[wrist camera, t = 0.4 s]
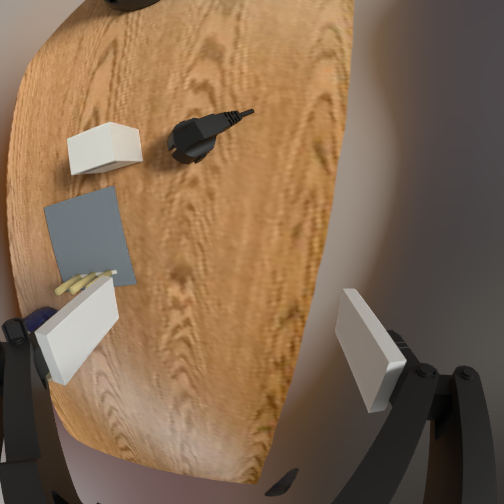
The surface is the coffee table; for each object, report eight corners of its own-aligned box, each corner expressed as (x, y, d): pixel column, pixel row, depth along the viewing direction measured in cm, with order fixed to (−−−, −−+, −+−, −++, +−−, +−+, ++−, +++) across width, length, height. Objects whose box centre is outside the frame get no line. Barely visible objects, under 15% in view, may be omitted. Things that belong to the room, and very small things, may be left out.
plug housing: (100, 142, 37) (67, 138, 28) (138, 129, 36) (110, 121, 28) (104, 172, 38) (71, 175, 30) (143, 161, 38) (114, 160, 29)
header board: (45, 207, 40) (18, 214, 33) (114, 185, 39) (89, 189, 32) (67, 290, 44) (45, 307, 37) (136, 283, 43) (117, 302, 36)
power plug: (265, 125, 35) (193, 157, 30) (238, 145, 42) (174, 177, 36) (245, 92, 34) (170, 117, 28) (220, 116, 41) (154, 144, 35)
